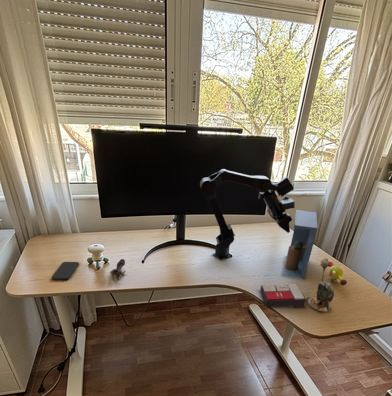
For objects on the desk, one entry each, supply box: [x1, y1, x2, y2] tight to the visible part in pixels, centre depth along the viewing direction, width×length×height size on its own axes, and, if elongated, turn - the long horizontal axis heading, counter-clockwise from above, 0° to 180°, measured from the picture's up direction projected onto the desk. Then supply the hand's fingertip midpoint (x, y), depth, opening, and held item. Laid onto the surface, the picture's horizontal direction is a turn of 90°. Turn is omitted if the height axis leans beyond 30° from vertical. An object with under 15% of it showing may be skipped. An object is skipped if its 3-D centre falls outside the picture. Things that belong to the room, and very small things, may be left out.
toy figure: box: [327, 261, 348, 286], centre depth 128 cm, size 18×6×7 cm, turn 178°
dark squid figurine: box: [109, 258, 126, 281], centre depth 127 cm, size 8×7×9 cm
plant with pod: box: [306, 257, 335, 313], centre depth 107 cm, size 8×11×20 cm
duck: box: [284, 241, 306, 270], centre depth 135 cm, size 7×6×14 cm
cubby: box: [283, 209, 319, 280], centre depth 133 cm, size 9×21×24 cm, turn 162°
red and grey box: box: [259, 283, 307, 308], centre depth 115 cm, size 11×4×15 cm
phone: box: [51, 261, 80, 281], centre depth 129 cm, size 7×1×15 cm
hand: (285, 228), depth 142 cm, fingers open, 9 cm apart
